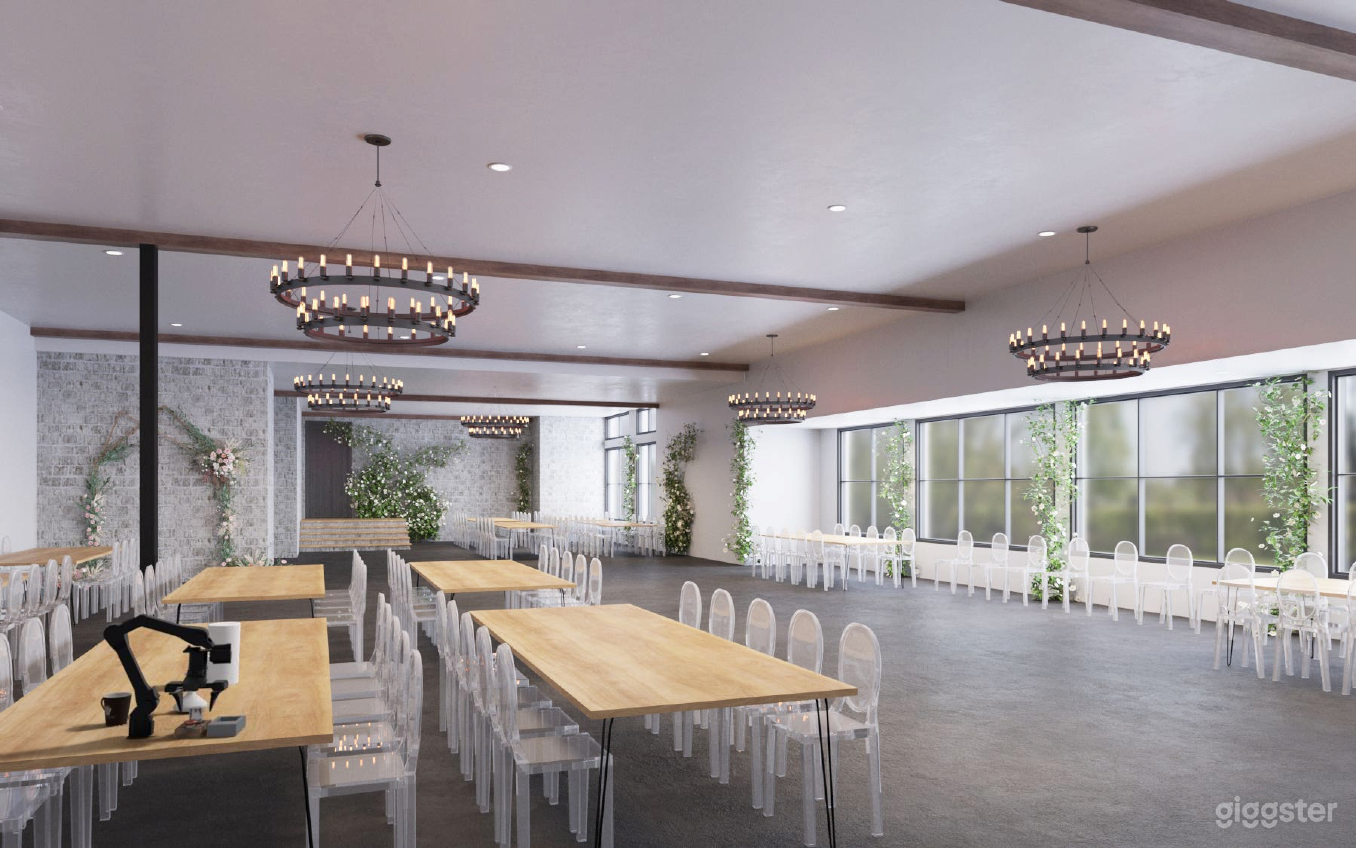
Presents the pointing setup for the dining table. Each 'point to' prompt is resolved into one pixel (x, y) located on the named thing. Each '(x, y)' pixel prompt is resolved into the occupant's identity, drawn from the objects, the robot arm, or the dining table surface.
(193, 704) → the flower in vase
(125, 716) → the coffee mug
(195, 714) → the peg
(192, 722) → the pin
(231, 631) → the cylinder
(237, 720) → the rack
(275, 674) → the dining table surface
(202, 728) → the socket block
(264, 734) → the dining table surface
